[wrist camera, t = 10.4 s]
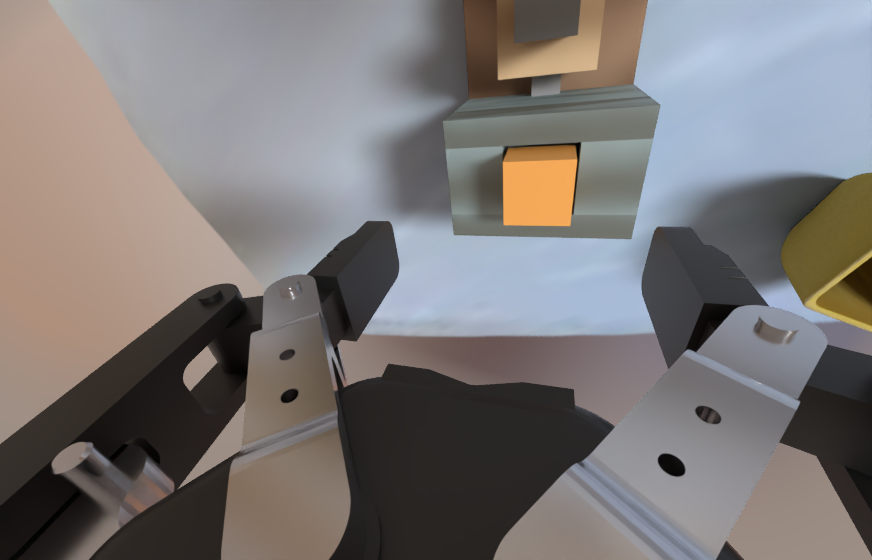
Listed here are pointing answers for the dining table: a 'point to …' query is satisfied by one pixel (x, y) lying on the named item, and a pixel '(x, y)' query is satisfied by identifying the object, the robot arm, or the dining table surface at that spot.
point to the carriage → (547, 36)
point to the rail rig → (553, 129)
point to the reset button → (539, 185)
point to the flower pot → (835, 254)
